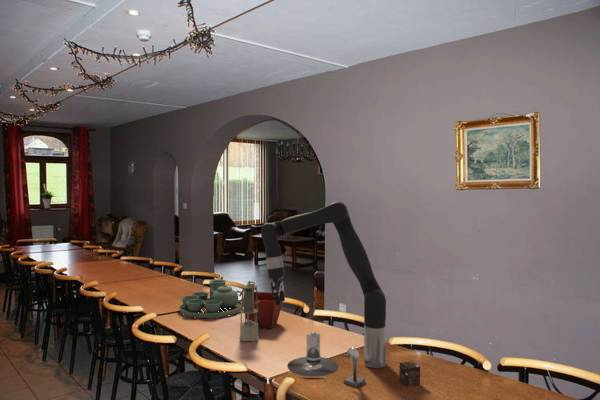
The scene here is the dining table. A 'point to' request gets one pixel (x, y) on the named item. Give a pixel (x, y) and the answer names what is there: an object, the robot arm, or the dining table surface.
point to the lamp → (248, 327)
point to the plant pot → (265, 310)
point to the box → (409, 373)
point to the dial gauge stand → (353, 380)
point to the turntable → (313, 367)
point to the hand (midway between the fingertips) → (280, 303)
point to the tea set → (212, 301)
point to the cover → (313, 347)
